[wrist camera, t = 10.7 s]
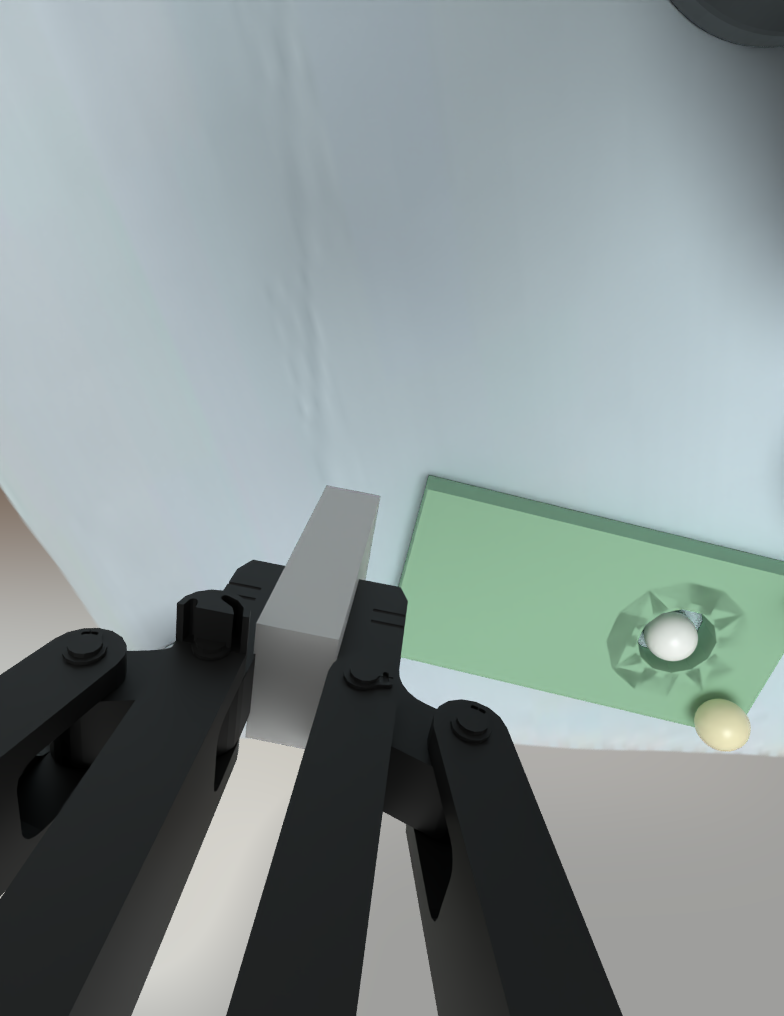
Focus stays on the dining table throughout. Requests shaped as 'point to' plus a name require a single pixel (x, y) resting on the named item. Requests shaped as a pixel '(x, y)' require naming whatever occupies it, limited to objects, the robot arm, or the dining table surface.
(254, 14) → the dining table surface
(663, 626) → the ball
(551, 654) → the green
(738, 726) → the yellow ball
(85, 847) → the robot arm
